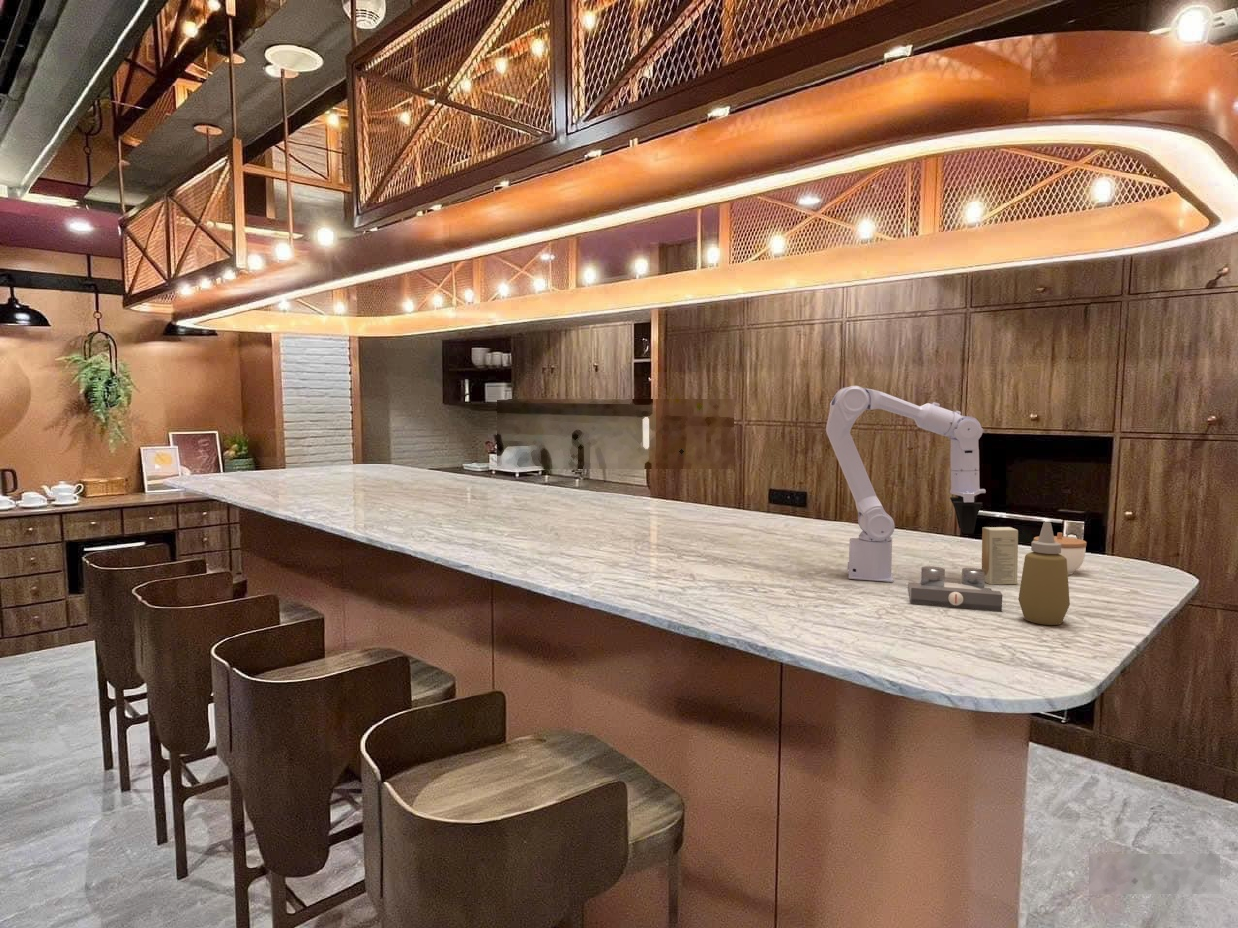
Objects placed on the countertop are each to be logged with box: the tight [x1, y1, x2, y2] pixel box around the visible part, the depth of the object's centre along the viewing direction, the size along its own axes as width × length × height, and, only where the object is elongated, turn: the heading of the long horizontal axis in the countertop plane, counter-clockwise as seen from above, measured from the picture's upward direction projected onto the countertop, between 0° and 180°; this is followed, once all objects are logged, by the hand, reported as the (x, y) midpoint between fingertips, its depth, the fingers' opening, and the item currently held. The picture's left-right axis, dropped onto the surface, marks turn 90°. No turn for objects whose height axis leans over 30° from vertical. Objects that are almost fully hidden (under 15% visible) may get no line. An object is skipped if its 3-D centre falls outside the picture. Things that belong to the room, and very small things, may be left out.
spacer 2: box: [961, 567, 986, 588], centre depth 154 cm, size 4×4×4 cm
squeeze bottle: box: [1018, 521, 1071, 626], centre depth 129 cm, size 8×8×18 cm
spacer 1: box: [920, 565, 946, 587], centre depth 148 cm, size 4×4×4 cm
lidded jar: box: [1033, 532, 1088, 576], centre depth 170 cm, size 11×11×9 cm
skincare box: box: [981, 526, 1019, 585], centre depth 160 cm, size 6×4×12 cm
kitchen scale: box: [907, 581, 1003, 613], centre depth 146 cm, size 16×15×3 cm
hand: (966, 530), depth 161 cm, fingers open, 7 cm apart
